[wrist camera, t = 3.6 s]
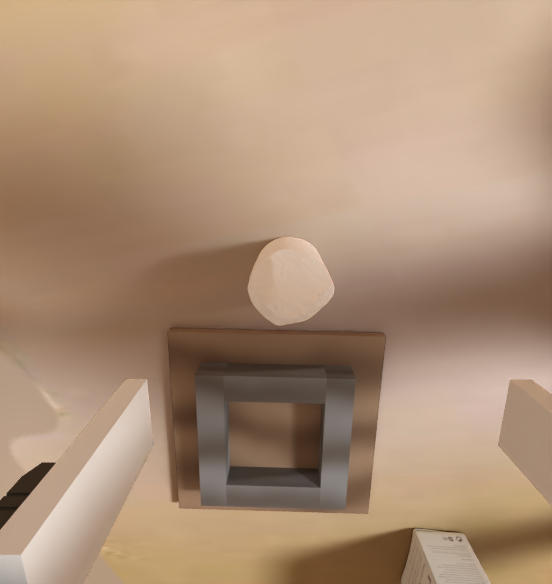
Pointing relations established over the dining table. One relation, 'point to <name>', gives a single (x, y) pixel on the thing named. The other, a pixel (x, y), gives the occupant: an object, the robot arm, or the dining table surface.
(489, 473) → the dining table surface
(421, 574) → the skincare box
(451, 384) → the dining table surface
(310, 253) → the white bottle-shaped piece
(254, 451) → the socket
